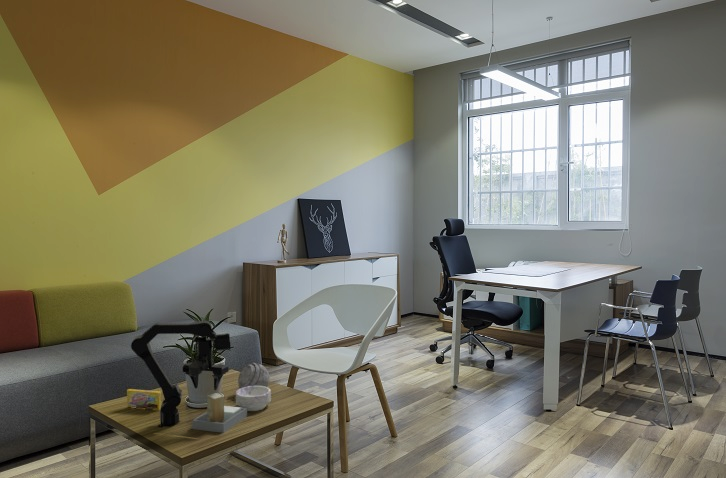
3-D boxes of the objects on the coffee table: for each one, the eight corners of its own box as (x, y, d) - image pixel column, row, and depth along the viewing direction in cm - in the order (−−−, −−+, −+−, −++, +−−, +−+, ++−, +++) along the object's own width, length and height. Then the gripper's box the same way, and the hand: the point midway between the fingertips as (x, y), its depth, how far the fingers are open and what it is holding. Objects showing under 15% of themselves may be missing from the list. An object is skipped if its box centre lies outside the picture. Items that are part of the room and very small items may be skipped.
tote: (192, 430, 208) (192, 420, 208) (217, 414, 225) (217, 405, 225) (223, 434, 204) (223, 423, 204) (247, 417, 221) (247, 408, 221)
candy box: (126, 408, 235) (126, 390, 235) (130, 407, 237) (129, 388, 237) (158, 411, 231) (158, 392, 231) (161, 409, 233) (161, 390, 233)
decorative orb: (233, 393, 253) (232, 362, 253) (261, 387, 262) (260, 357, 261) (246, 401, 241) (246, 369, 241) (275, 395, 250) (274, 363, 250)
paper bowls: (263, 415, 224) (262, 396, 223) (229, 413, 227) (229, 395, 226) (276, 403, 239) (275, 386, 238) (244, 401, 242) (244, 384, 241)
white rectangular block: (211, 420, 217) (211, 410, 217) (220, 414, 223) (219, 405, 223) (233, 422, 214) (233, 412, 214) (241, 417, 220) (241, 407, 220)
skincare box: (206, 425, 212) (206, 394, 212) (216, 422, 215) (216, 392, 215) (215, 429, 207) (214, 398, 207) (225, 426, 210) (224, 395, 210)
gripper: (173, 355, 213) (174, 393, 214) (213, 357, 208) (214, 397, 208) (190, 348, 224) (190, 385, 224) (228, 351, 218) (229, 388, 219)
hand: (205, 389), depth 219 cm, fingers open, 9 cm apart
